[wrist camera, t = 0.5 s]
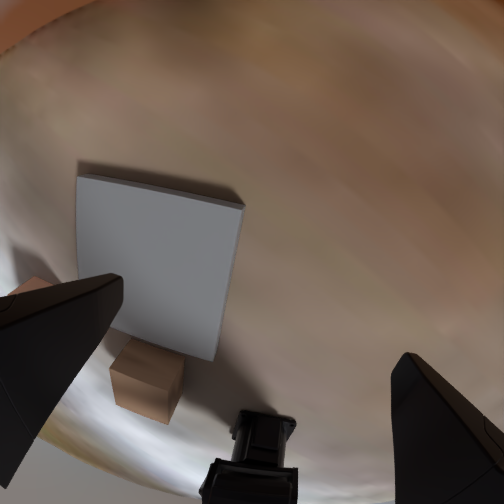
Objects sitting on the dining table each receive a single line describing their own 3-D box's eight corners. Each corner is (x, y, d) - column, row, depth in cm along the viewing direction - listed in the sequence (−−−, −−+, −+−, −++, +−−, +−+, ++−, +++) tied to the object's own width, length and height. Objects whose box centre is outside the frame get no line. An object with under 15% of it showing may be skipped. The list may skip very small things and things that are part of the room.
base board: (216, 351, 27) (212, 361, 25) (90, 308, 27) (82, 315, 26) (245, 205, 21) (241, 210, 20) (87, 173, 22) (77, 176, 21)
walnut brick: (182, 392, 30) (168, 425, 25) (134, 374, 30) (116, 404, 26) (185, 355, 28) (168, 391, 23) (131, 337, 28) (109, 368, 23)
